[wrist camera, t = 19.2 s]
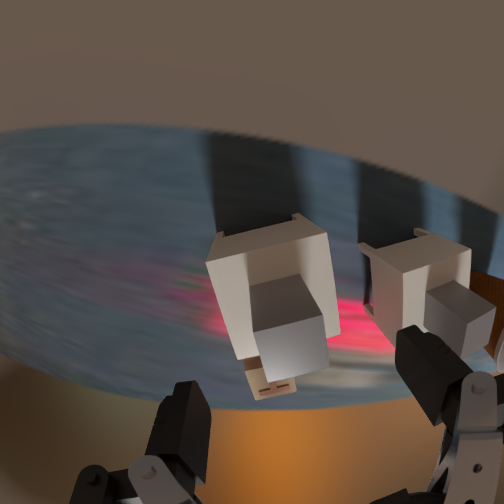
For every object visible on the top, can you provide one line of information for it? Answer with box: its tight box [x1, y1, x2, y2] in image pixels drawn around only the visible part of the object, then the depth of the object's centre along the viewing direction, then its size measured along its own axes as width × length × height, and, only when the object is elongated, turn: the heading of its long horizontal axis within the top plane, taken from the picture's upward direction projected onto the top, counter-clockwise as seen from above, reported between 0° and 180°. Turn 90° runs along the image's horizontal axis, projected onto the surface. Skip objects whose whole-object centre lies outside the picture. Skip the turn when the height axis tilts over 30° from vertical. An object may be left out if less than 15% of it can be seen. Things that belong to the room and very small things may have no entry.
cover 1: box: [206, 213, 340, 382], centre depth 18 cm, size 7×7×13 cm
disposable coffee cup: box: [469, 271, 504, 372], centre depth 21 cm, size 10×10×12 cm
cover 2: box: [358, 228, 496, 360], centre depth 19 cm, size 7×7×13 cm
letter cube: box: [244, 355, 297, 400], centre depth 25 cm, size 4×4×4 cm
